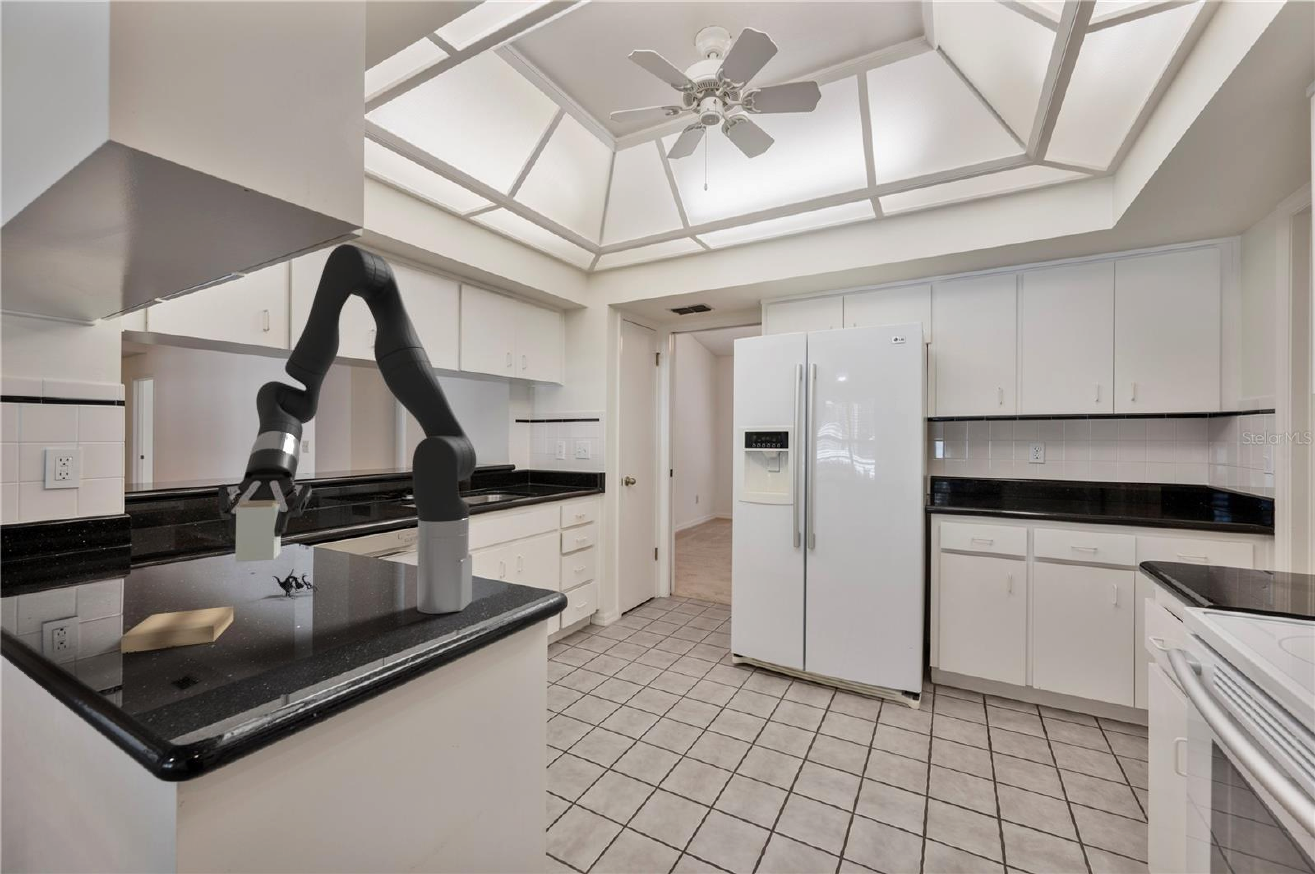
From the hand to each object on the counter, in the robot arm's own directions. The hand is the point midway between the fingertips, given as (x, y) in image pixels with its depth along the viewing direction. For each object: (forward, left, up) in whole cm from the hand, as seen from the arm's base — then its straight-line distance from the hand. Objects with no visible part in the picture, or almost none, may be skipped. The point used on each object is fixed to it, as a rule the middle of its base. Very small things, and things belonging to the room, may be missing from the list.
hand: (256, 534), depth 89 cm
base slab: (+11, +2, -17) cm, 20 cm away
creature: (+7, -22, -17) cm, 28 cm away
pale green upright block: (+1, -2, -4) cm, 5 cm away
